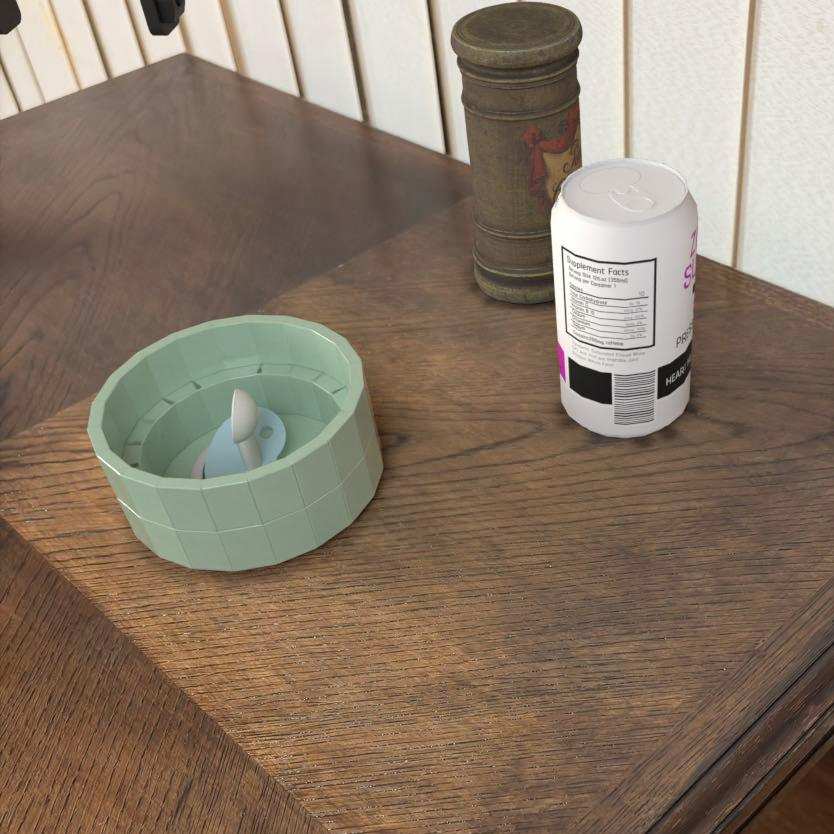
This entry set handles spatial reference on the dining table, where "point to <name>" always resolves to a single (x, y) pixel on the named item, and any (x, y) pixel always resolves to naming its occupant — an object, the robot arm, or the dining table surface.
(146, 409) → the bowl
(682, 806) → the dining table surface
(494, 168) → the container
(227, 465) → the pacifier
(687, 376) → the supplement can
